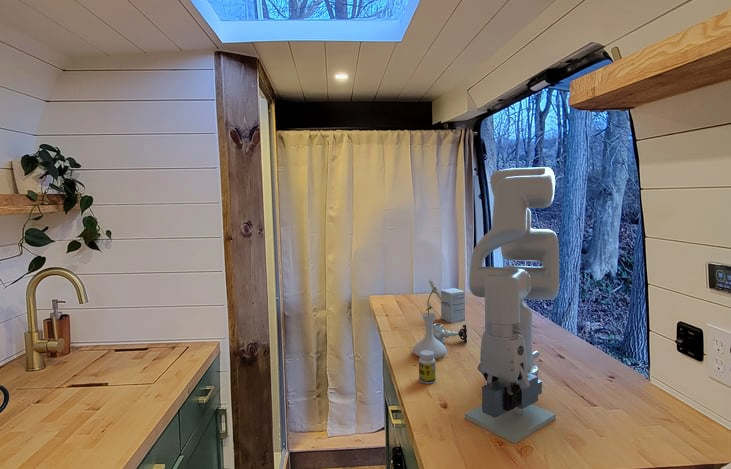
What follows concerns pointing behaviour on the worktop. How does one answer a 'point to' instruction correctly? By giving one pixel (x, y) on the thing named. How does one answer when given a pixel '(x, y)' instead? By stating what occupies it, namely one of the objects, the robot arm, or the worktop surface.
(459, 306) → the supplement box
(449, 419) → the worktop surface
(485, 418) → the board
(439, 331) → the valve
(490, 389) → the link
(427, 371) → the supplement bottle
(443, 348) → the flower in vase
